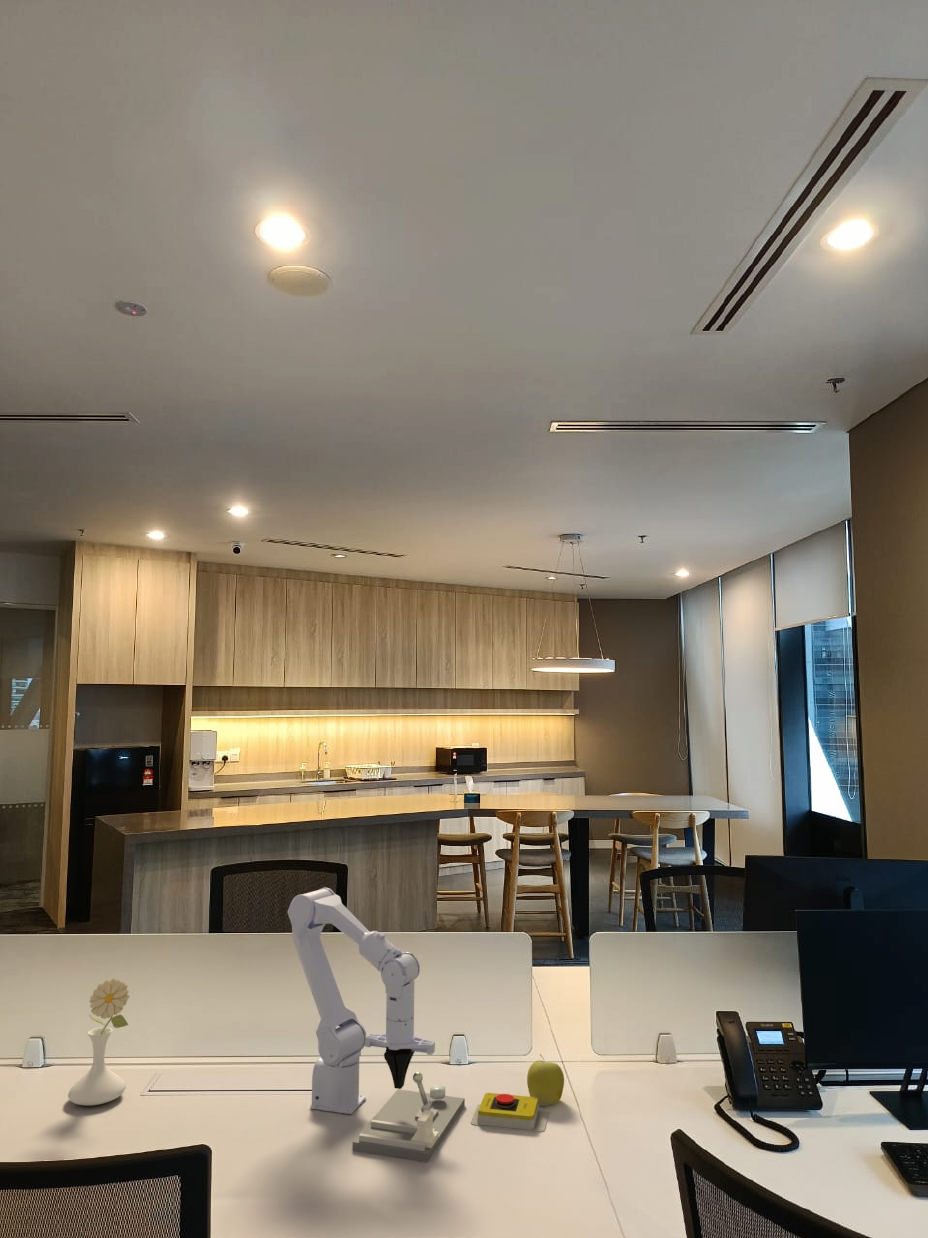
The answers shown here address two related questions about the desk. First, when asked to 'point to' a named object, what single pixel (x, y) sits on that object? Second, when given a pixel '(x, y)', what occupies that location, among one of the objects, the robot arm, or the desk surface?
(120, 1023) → the flower in vase
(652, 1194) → the desk surface
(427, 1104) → the toggle lever
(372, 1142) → the grey base plate
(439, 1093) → the push button
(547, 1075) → the apple
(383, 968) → the robot arm
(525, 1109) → the emergency button
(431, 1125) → the paddle slider
